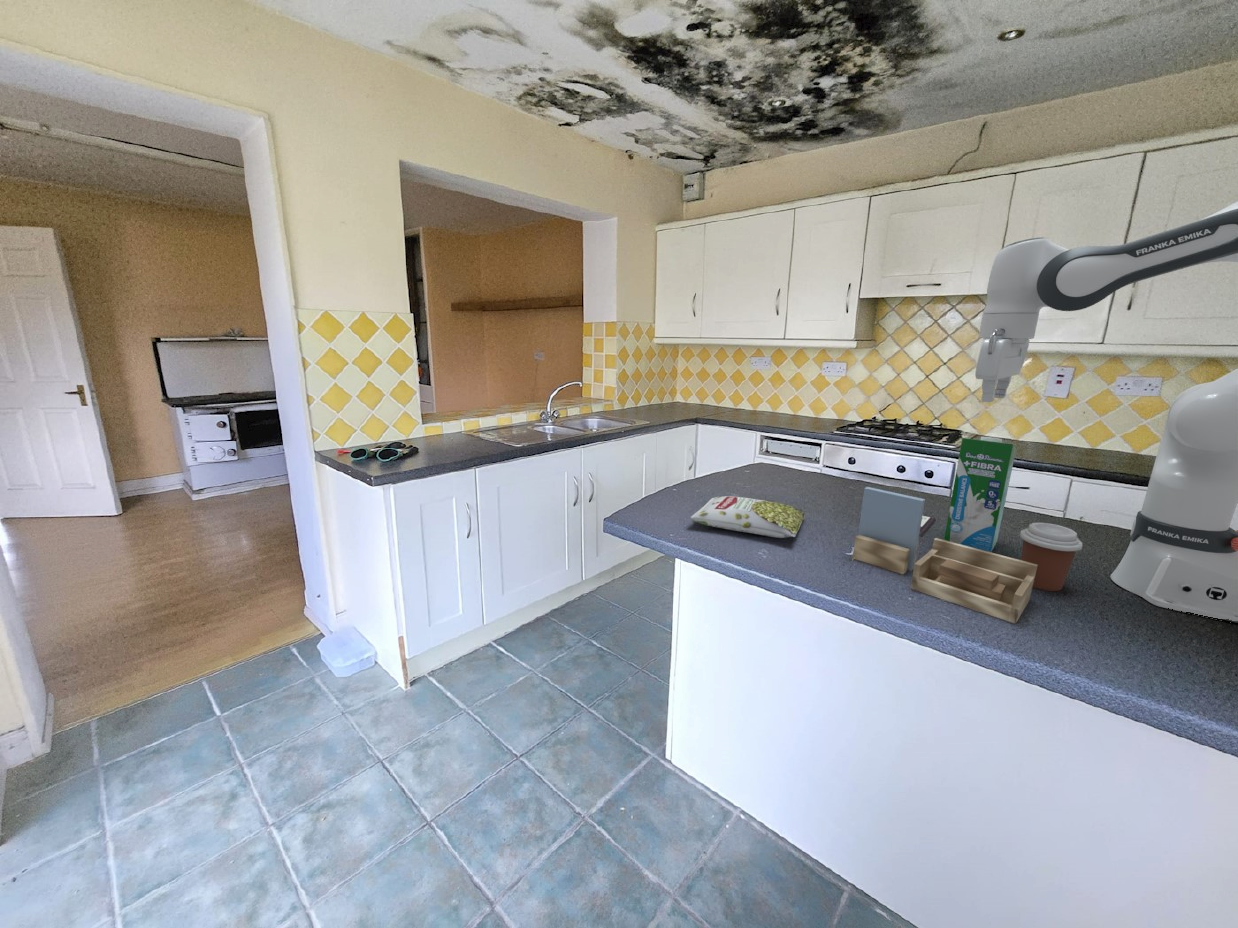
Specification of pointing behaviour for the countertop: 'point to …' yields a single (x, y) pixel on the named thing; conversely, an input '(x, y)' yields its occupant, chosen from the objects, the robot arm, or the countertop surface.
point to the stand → (881, 554)
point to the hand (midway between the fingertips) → (993, 400)
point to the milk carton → (979, 492)
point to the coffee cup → (1049, 553)
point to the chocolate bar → (926, 524)
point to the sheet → (892, 519)
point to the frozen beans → (751, 516)
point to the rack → (1009, 569)
